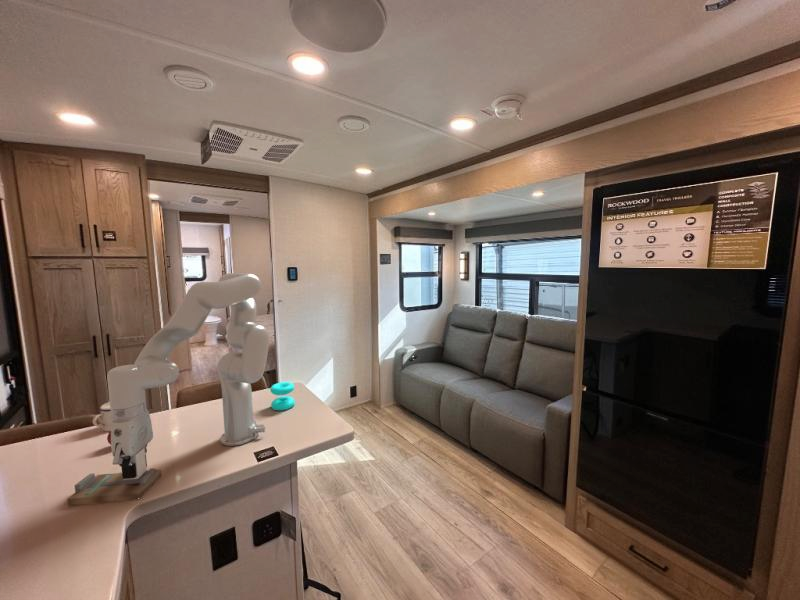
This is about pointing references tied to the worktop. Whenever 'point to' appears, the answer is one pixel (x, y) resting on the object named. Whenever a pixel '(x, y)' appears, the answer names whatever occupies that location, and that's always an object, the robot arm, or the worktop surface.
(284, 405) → the donuts
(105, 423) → the teacup with lid
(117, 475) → the wooden slider board
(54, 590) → the worktop surface
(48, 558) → the worktop surface
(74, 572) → the worktop surface
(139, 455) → the fader
